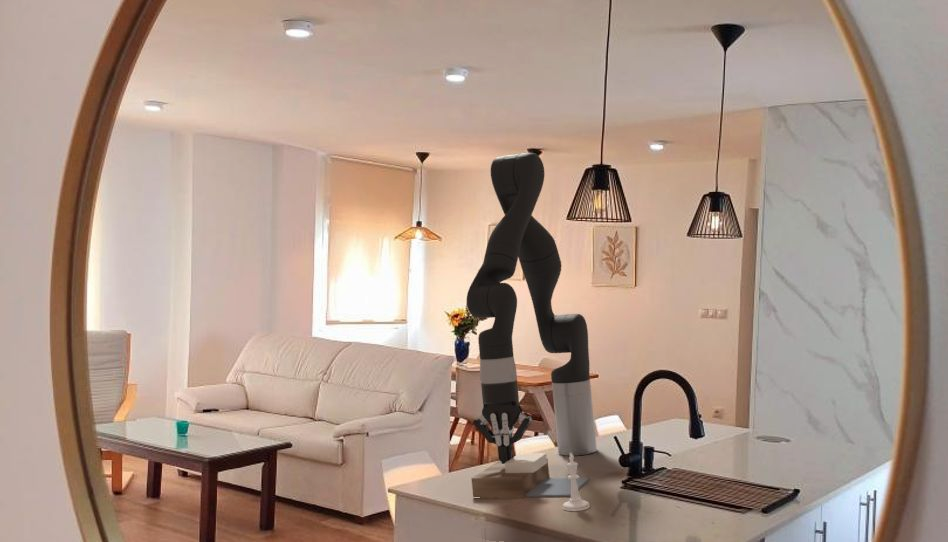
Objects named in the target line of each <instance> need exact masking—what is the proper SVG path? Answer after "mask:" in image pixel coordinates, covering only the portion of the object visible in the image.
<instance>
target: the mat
mask: <svg viewBox="0 0 948 542" xmlns="http://www.w3.org/2000/svg"><path fill="white" fill-rule="evenodd" d="M576 481H577V486H578V491H579V490H580V489H581V488H582V487H583V486H584V485H586V483H587V482H589V481H590V477H579V478H577V479H576ZM548 497H549V498H550V497H551V498H554V497H556V498H560V497H561V498H563V497H564V498H567V497H568V498H569V497H570V498H571V479H568V477H559V478H558V477H555V478H553V477H549V478H545V479H544V480H542V481H541V482H540V483H539V484H538V485H536V486H535V487H534V488H533V489H531V490H530V491H529V492H528V493H526V494H525V497H524V498H548Z"/></svg>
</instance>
